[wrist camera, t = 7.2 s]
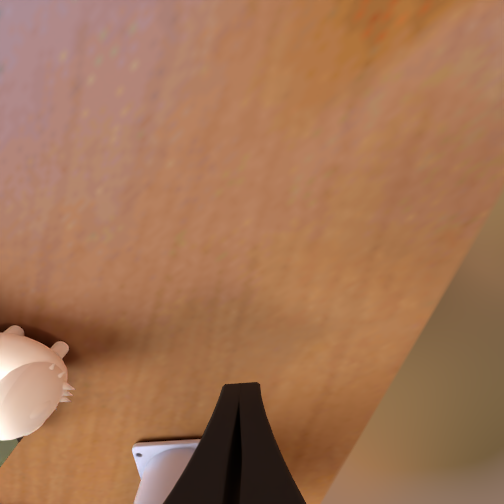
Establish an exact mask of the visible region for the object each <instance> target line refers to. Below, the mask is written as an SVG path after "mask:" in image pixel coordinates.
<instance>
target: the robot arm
mask: <svg viewBox="0 0 504 504" xmlns="http://www.w3.org/2000/svg"><path fill="white" fill-rule="evenodd" d="M132 452H133V456H134V459H135V462H136V465H137V468H138V471H139V475H140V478H141V482H140V485H139V488H138V492H137V495H136V498H135V501H134V504H306V502H305V500H304V498H303V497H302V495H301V493H300V491H299V489H298V487H297V485H296V484H295V482H294V480H293V478H292V476H291V474H290V472H289V470H288V467H287V465H286V463H285V461H284V459H283V457H282V454H281V452H280V450H279V448H278V445H277V443H276V440H275V438H274V435H273V433H272V430H271V427H270V424H269V422H268V419H267V416H266V412H265V409H264V405H263V401H262V397H261V390H260V384H259V383H257V382H252V383H238V384H225V385H224V386H223V387H222V390H221V393H220V396H219V399H218V402H217V404H216V407H215V409H214V412H213V414H212V416H211V419H210V421H209V423H208V425H207V427H206V429H205V431H204V434H203V436H202V438H201V439H192V440H175V441H159V442H142V443H135V444H134V445H133V448H132Z"/></svg>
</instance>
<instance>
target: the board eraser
mask: <svg viewBox="0 0 504 504" xmlns="http://www.w3.org/2000/svg"><path fill="white" fill-rule="evenodd" d="M23 437H24V436H22V437H19V438H16V439H13V440H0V467H1V466H2V464H3V463H4V462H5V460H6V459H7V458H8V456H9V455H10V454H11V452H12V451H13V450H14V448H15V447H16V446H17V444H18V442H20V441H21V439H22V438H23Z"/></svg>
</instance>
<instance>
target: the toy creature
mask: <svg viewBox="0 0 504 504" xmlns="http://www.w3.org/2000/svg"><path fill="white" fill-rule="evenodd" d="M68 351H69V346H68V345H67V344H66V343H65V342H62V341H58V342H56V343H55V344H54V345H53V346H52V347H51V348H49V347H47V346H45V345H44V344H42V343H40V342H38V341H35V340H33V339H31V338H28V337H25V336H24V331H23V329H22V328H21V327H19V326H16V325H13V326H10V327H9V328H8V329H7V330H5V331H4V332H3V333H1V332H0V440H13V439H16V438H19V437H22V436H25V435H29V434H31V433H33V432H34V431H36V430H37V429H39V428H40V427H41V426H42V425H43V423H44V422H45V420H46V419H47V418H48V417H49V416H50V415H51V414H52V413H53V411H54V410H57V409H56V406H57V405H58V403H59V402H72V401H70V400H69V399H68V398H66V397H65V396H74V395H73V394H71V393H70V392H69V391H68V390H76V389H75V388H73V387H72V386H71V385H69V384H68V383H67V379H68V374H67V367H66V366H65V364H64V361H63V360H62V358H63V357H64V356H65V355H66V354H67V352H68Z"/></svg>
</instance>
